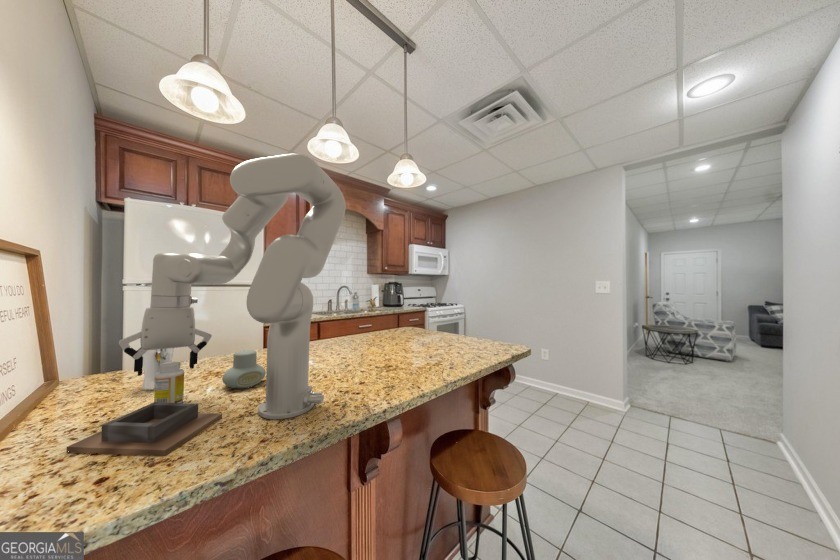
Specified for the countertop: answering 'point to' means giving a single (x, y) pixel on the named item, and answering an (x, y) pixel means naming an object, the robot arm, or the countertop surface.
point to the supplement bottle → (169, 383)
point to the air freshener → (244, 370)
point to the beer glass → (154, 365)
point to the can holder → (148, 430)
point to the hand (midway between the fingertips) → (166, 370)
